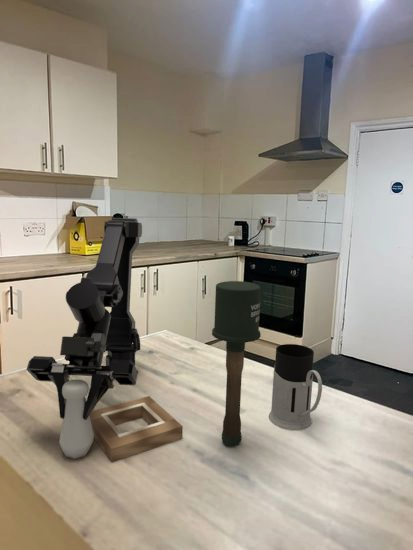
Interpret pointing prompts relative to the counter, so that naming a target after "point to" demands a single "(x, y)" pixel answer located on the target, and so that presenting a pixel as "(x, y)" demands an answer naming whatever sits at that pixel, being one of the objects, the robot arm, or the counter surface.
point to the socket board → (139, 439)
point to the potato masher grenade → (235, 344)
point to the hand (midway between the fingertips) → (73, 418)
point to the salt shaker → (75, 421)
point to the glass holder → (293, 387)
